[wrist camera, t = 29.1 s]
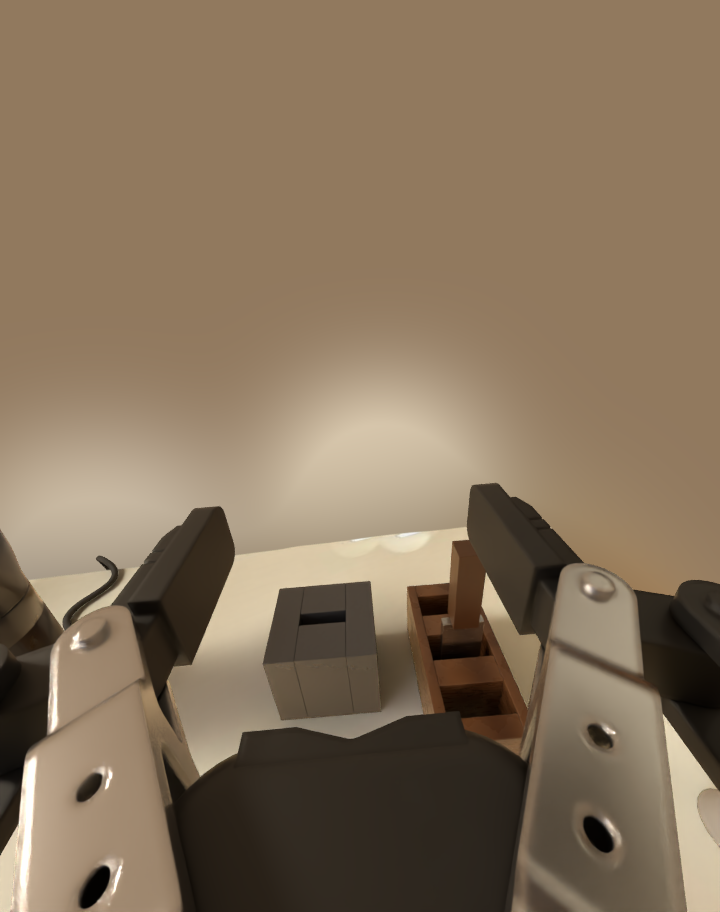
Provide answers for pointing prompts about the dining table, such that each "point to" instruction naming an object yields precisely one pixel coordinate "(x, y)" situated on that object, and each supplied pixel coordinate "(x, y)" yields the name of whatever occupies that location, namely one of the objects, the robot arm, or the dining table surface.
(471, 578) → the chef knife
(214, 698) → the dining table surface
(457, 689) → the knife rack
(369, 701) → the knife block
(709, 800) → the chalice
